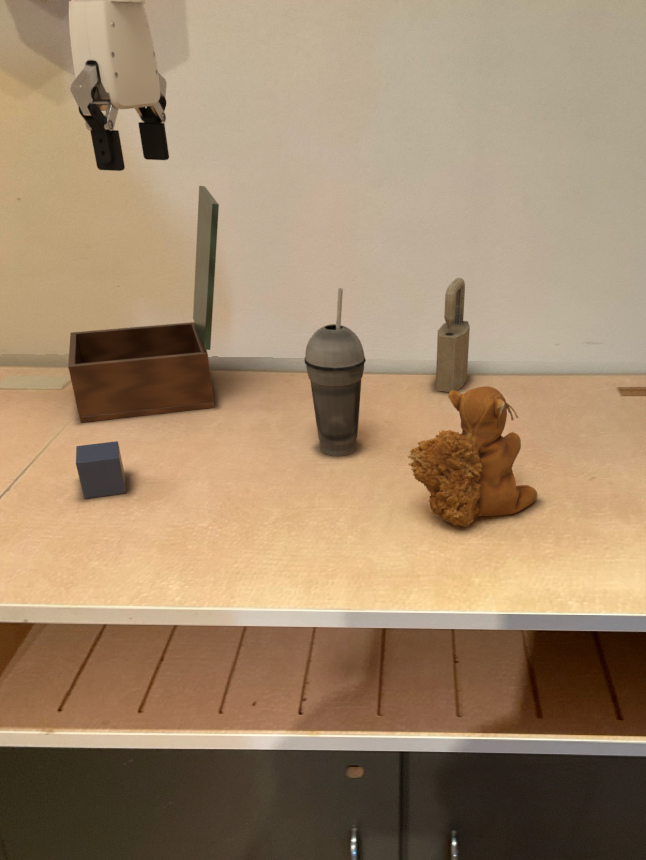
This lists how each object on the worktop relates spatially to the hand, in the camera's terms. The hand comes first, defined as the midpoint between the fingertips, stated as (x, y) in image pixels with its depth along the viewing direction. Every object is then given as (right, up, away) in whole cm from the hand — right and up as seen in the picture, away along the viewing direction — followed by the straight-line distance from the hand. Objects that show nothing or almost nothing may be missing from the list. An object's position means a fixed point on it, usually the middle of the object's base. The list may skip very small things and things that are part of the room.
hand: (135, 164), depth 93 cm
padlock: (+39, -20, +27) cm, 51 cm away
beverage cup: (+23, -33, +7) cm, 41 cm away
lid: (+4, -7, +14) cm, 17 cm away
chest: (-6, -23, +21) cm, 32 cm away
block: (-3, -38, -2) cm, 38 cm away
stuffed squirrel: (+39, -41, -5) cm, 56 cm away
